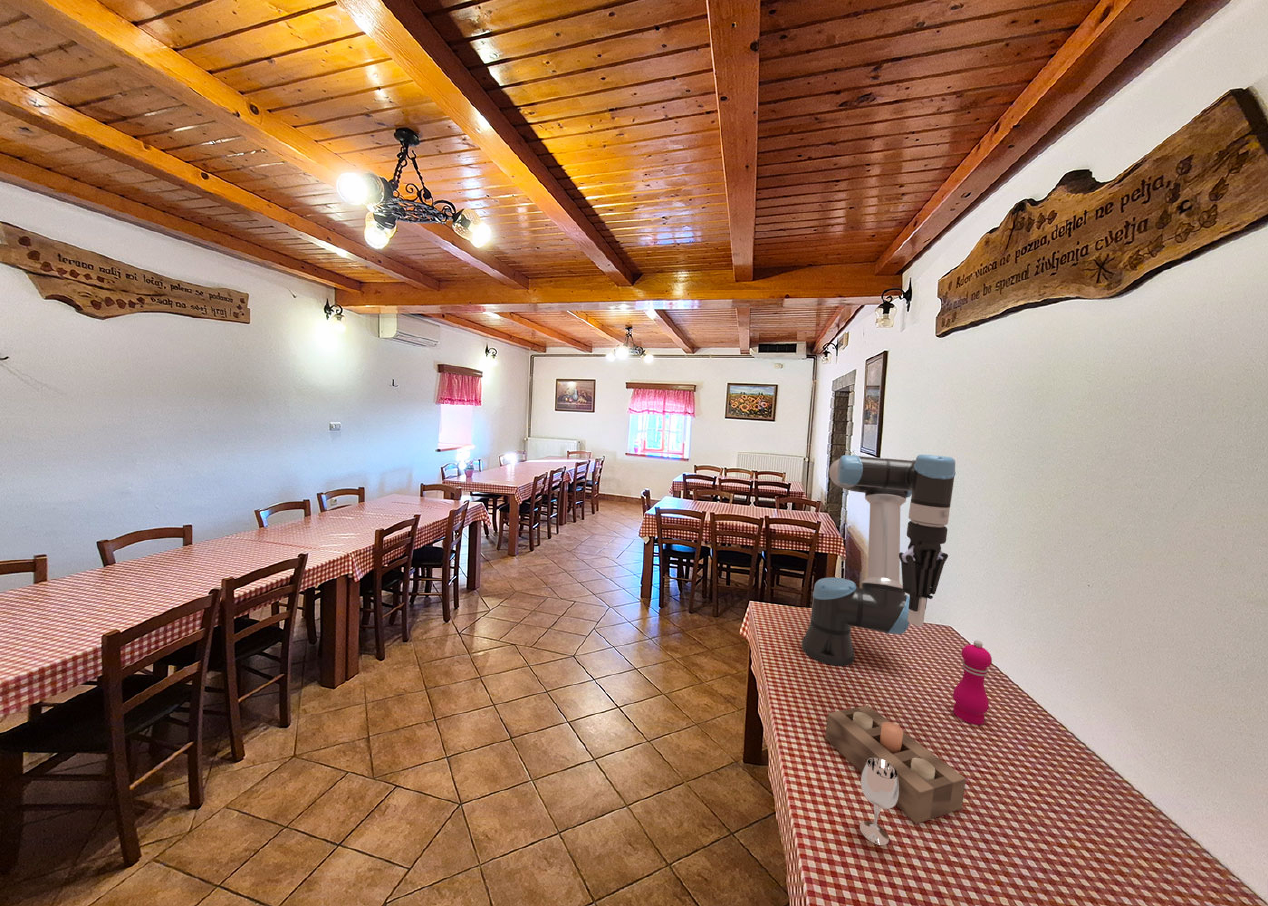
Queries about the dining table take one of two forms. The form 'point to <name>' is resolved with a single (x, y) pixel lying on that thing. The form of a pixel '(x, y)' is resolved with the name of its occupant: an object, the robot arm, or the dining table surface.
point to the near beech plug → (923, 769)
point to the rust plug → (891, 737)
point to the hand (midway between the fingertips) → (915, 623)
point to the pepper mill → (972, 685)
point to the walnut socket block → (898, 765)
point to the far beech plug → (862, 720)
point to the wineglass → (879, 795)
